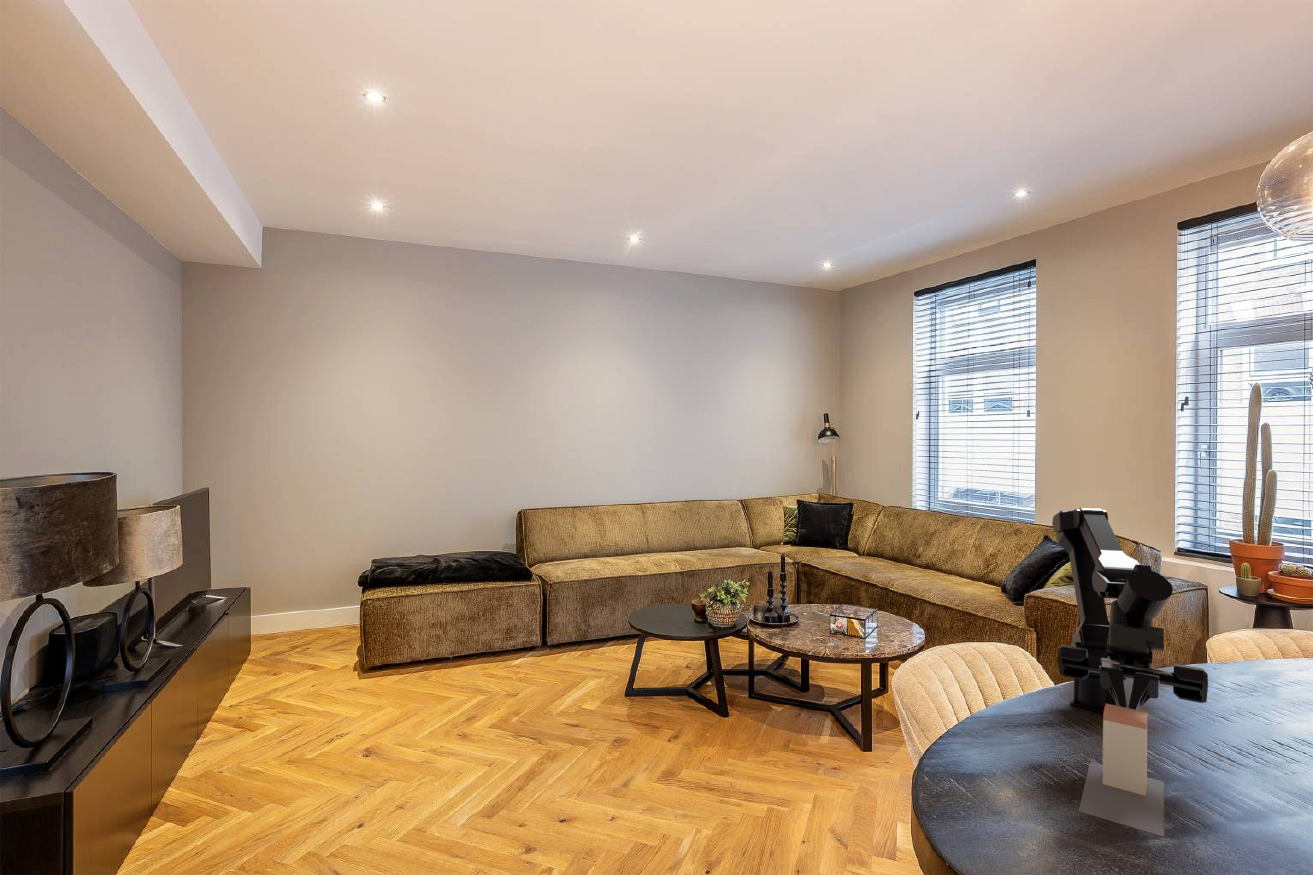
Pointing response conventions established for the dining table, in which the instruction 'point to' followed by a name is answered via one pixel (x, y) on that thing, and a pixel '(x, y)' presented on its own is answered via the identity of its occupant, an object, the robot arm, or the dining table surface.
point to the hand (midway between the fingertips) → (1127, 723)
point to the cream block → (1125, 748)
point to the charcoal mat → (1124, 803)
